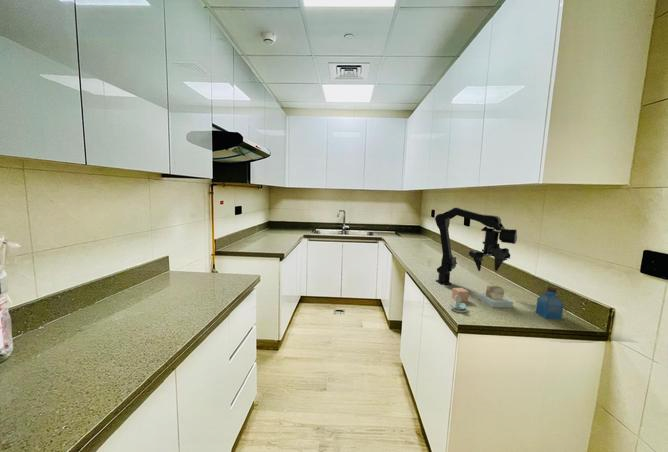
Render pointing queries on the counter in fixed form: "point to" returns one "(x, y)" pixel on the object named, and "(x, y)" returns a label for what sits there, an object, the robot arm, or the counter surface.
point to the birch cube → (495, 292)
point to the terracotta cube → (460, 294)
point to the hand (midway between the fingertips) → (487, 270)
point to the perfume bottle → (550, 305)
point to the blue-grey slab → (495, 301)
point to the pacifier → (457, 305)
